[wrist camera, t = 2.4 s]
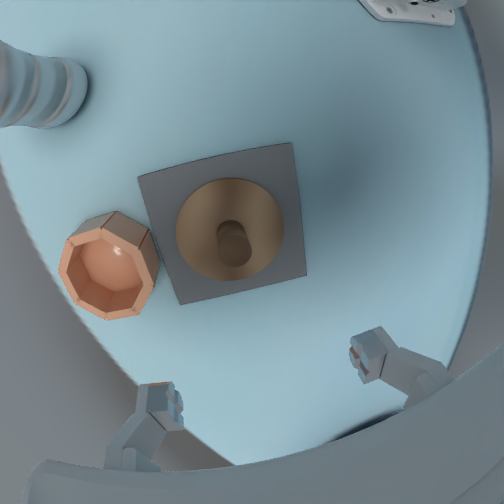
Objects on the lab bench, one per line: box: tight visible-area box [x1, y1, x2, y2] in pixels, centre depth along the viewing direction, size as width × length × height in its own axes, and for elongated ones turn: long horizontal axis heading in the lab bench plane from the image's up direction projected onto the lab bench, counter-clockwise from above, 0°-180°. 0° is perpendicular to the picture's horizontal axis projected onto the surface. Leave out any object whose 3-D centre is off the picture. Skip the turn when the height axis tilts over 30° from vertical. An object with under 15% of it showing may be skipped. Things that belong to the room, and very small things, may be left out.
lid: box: [176, 178, 284, 281], centre depth 23 cm, size 10×10×5 cm
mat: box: [137, 143, 307, 305], centre depth 26 cm, size 14×14×1 cm
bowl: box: [58, 211, 160, 320], centre depth 23 cm, size 9×9×4 cm
